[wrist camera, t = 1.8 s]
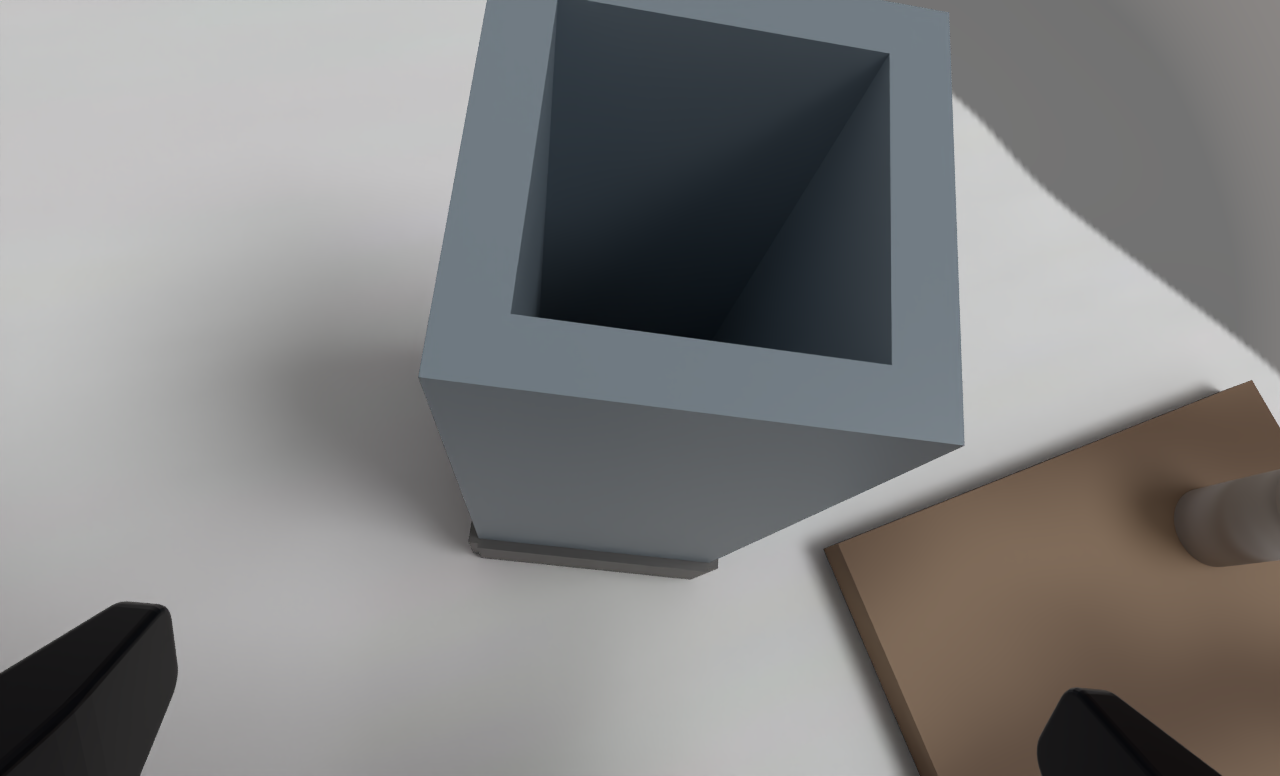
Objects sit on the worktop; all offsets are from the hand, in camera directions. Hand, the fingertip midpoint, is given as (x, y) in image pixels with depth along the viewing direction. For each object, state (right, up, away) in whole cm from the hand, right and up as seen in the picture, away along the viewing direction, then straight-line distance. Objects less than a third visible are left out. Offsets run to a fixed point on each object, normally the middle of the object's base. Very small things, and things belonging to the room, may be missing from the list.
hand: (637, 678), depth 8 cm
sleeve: (-1, +1, +12) cm, 12 cm away
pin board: (+13, -6, +12) cm, 19 cm away
